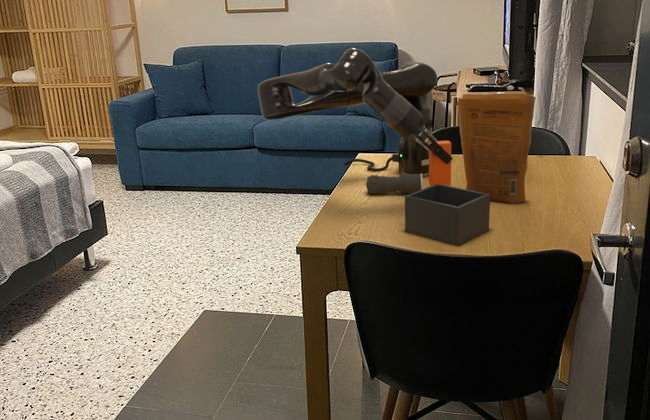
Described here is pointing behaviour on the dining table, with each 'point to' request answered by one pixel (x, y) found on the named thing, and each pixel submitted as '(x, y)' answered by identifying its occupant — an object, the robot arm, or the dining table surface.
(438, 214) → the trash bin
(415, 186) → the flashlight
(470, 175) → the pancake mix bag
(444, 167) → the block
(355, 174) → the dining table surface
